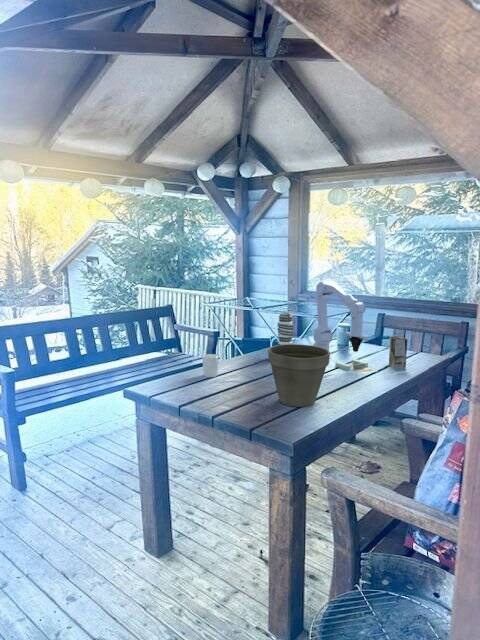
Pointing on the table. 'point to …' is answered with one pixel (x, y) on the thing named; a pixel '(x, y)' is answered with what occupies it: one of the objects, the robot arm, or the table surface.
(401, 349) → the coffee box
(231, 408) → the table surface
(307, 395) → the plant pot
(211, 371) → the white cup
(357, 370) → the sliding lid with handle
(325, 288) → the robot arm
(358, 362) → the box
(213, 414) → the table surface
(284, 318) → the decorative candle
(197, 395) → the table surface
